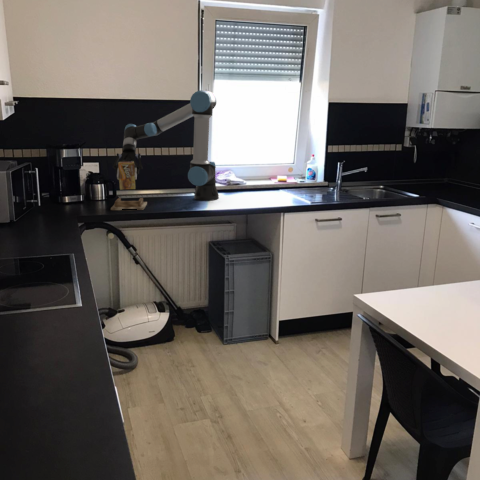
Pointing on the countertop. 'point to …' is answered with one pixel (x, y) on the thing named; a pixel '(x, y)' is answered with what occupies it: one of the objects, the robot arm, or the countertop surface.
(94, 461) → the countertop surface
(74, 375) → the countertop surface
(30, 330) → the countertop surface
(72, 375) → the countertop surface
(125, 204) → the slot holder
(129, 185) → the candy box
